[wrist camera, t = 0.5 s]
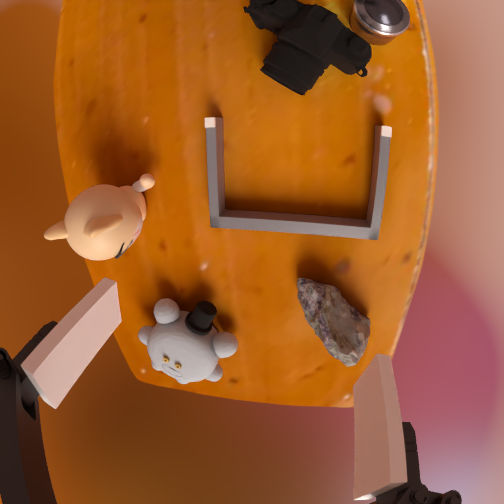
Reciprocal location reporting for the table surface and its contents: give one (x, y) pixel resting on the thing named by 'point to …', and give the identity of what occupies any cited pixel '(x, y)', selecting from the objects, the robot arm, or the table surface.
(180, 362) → the figurine
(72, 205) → the kitten
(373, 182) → the bracket
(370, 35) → the lens
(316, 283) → the mineral rock
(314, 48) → the film camera
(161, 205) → the table surface
